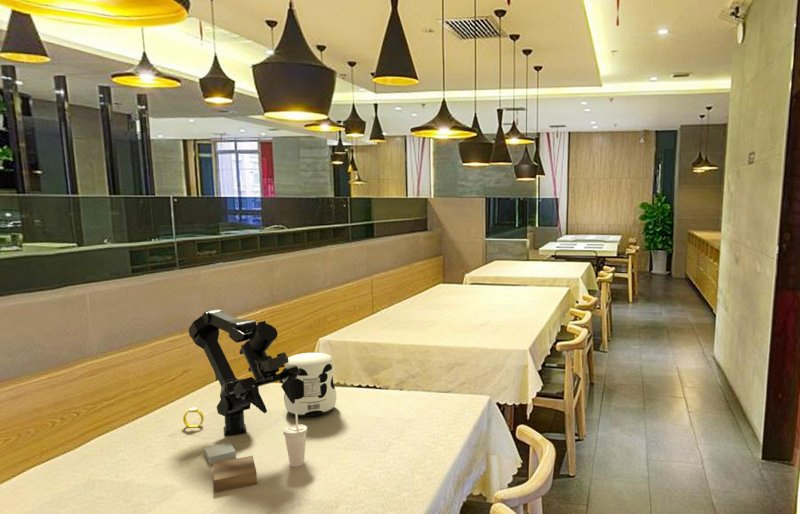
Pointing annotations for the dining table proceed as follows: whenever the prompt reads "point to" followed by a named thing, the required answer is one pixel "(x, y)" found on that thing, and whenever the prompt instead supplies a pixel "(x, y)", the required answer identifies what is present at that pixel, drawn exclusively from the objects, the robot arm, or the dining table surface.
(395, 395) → the dining table surface
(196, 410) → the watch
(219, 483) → the walnut block
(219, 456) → the grey tile
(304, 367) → the milk container
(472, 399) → the dining table surface
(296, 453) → the smoothie
